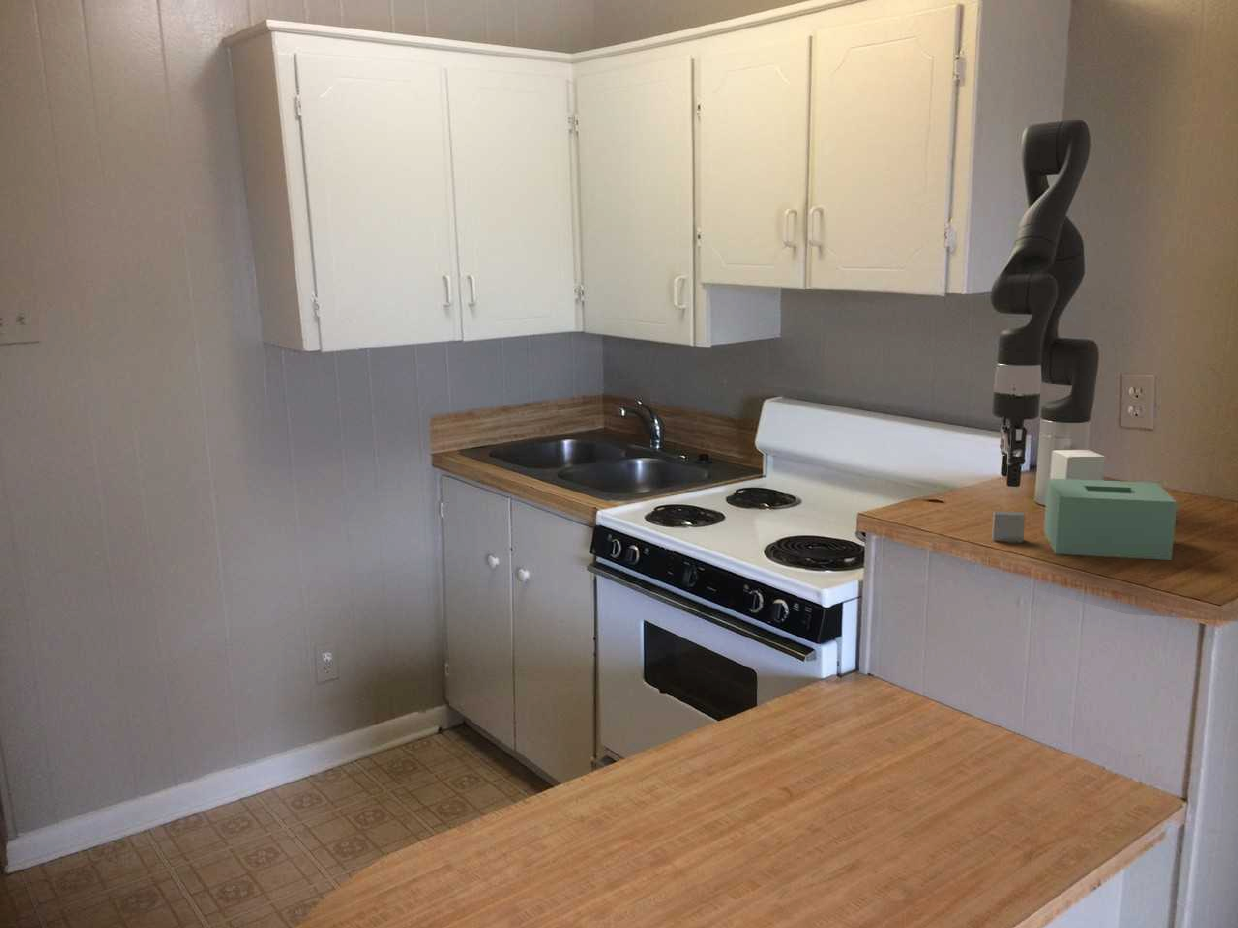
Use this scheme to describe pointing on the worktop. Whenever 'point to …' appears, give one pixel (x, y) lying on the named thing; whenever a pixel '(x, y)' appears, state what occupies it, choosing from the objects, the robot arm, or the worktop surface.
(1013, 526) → the block
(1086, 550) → the money box
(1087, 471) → the supplement box
